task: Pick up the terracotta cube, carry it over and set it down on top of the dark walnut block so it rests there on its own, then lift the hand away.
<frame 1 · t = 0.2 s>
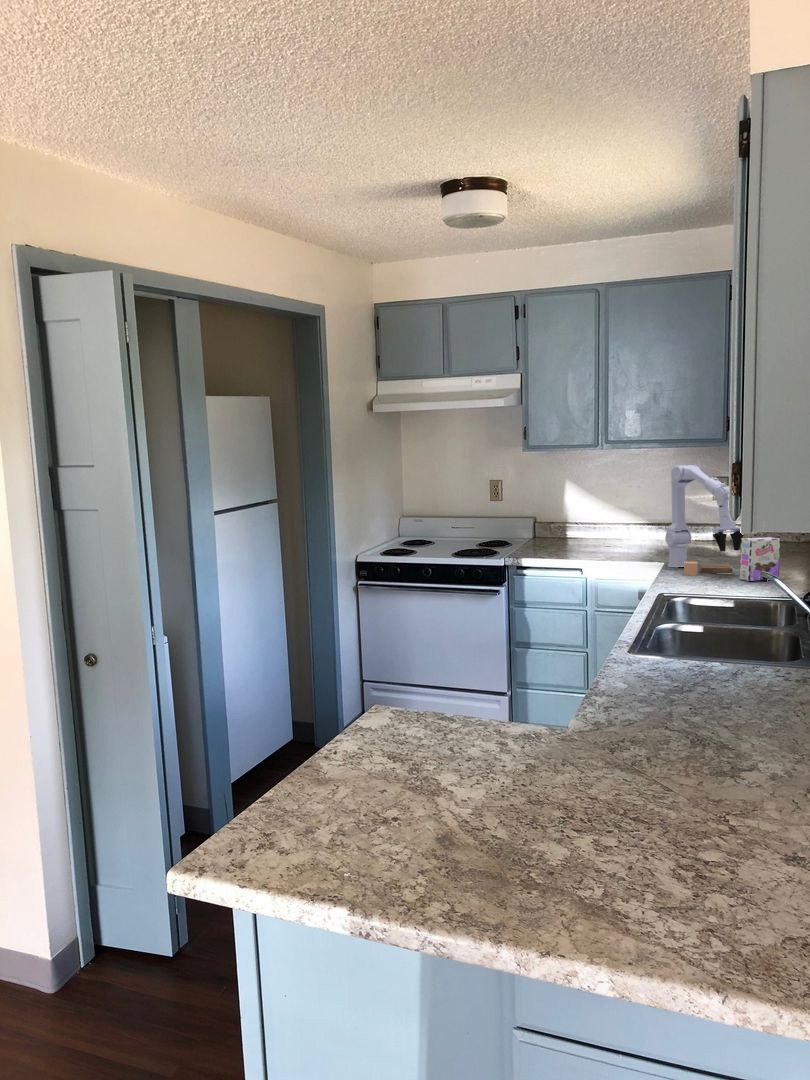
hand: (729, 550, 331), 10 cm above the worktop, tool pointing down, fingers open, 7 cm apart
walnut block: (715, 573, 345), on the worktop
terracotta cube: (690, 574, 340), on the worktop
candy box: (759, 580, 323), on the worktop
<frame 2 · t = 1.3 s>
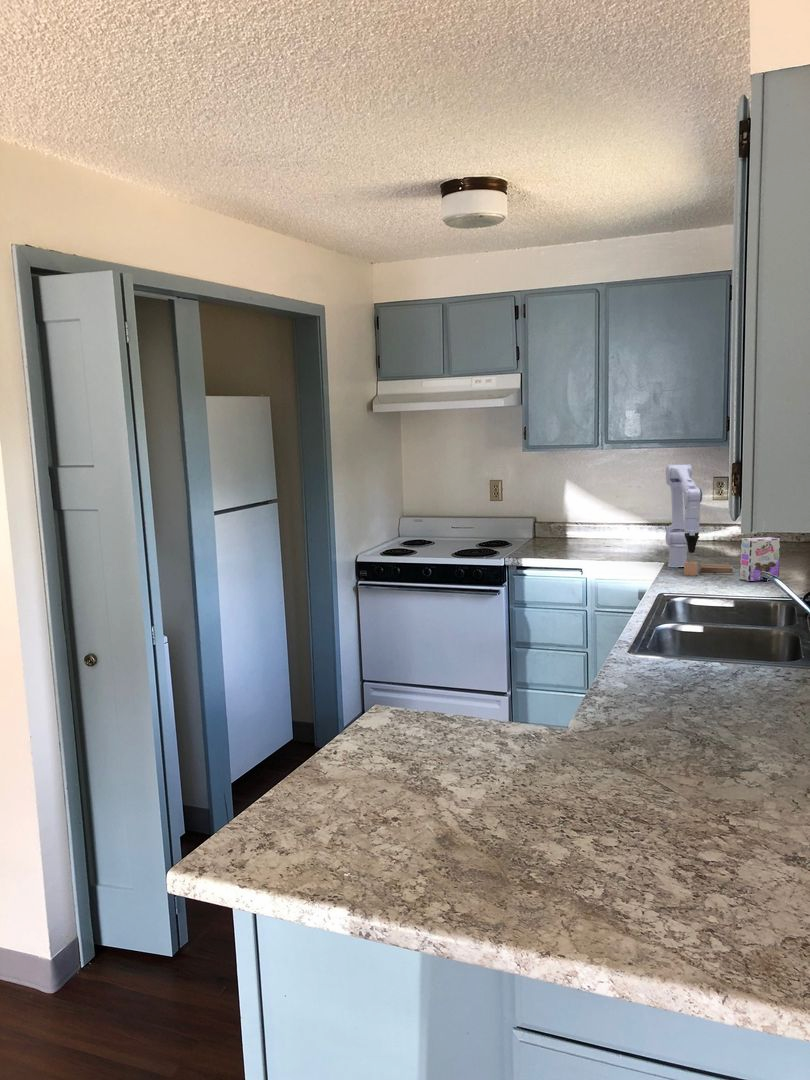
hand: (691, 551, 339), 9 cm above the worktop, tool pointing down, fingers open, 7 cm apart
nothing on the worktop moved.
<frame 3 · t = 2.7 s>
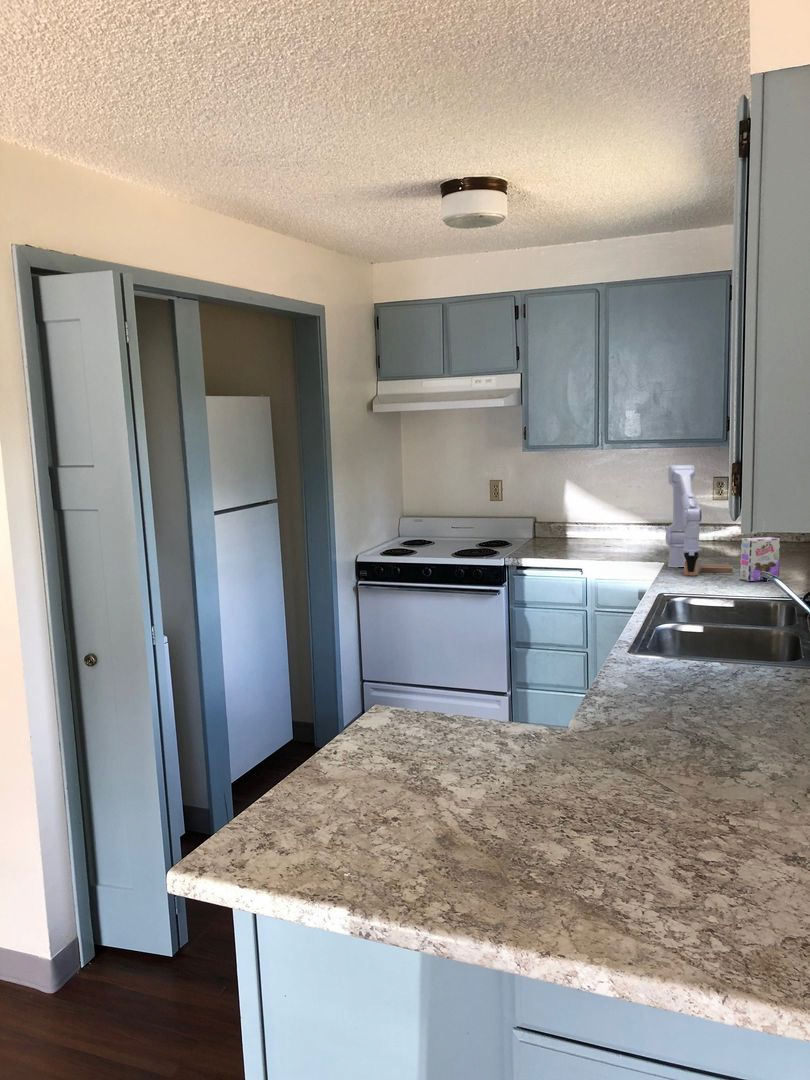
hand: (690, 570, 339), 1 cm above the worktop, tool pointing down, fingers closed on terracotta cube, 5 cm apart
terracotta cube: (690, 574, 340), on the worktop, touching gripper
everything else where it was.
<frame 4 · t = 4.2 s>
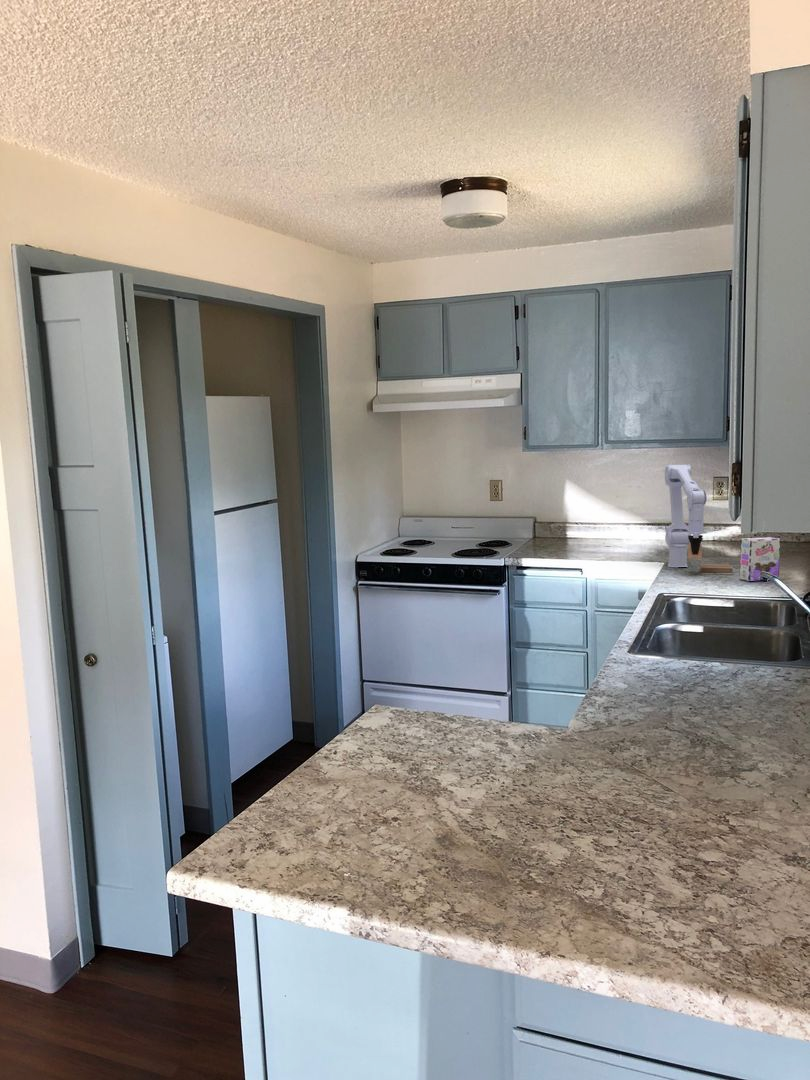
hand: (695, 553, 340), 8 cm above the worktop, tool pointing down, fingers closed on terracotta cube, 5 cm apart
terracotta cube: (694, 557, 340), point 7 cm above the worktop, touching gripper
everything else where it was.
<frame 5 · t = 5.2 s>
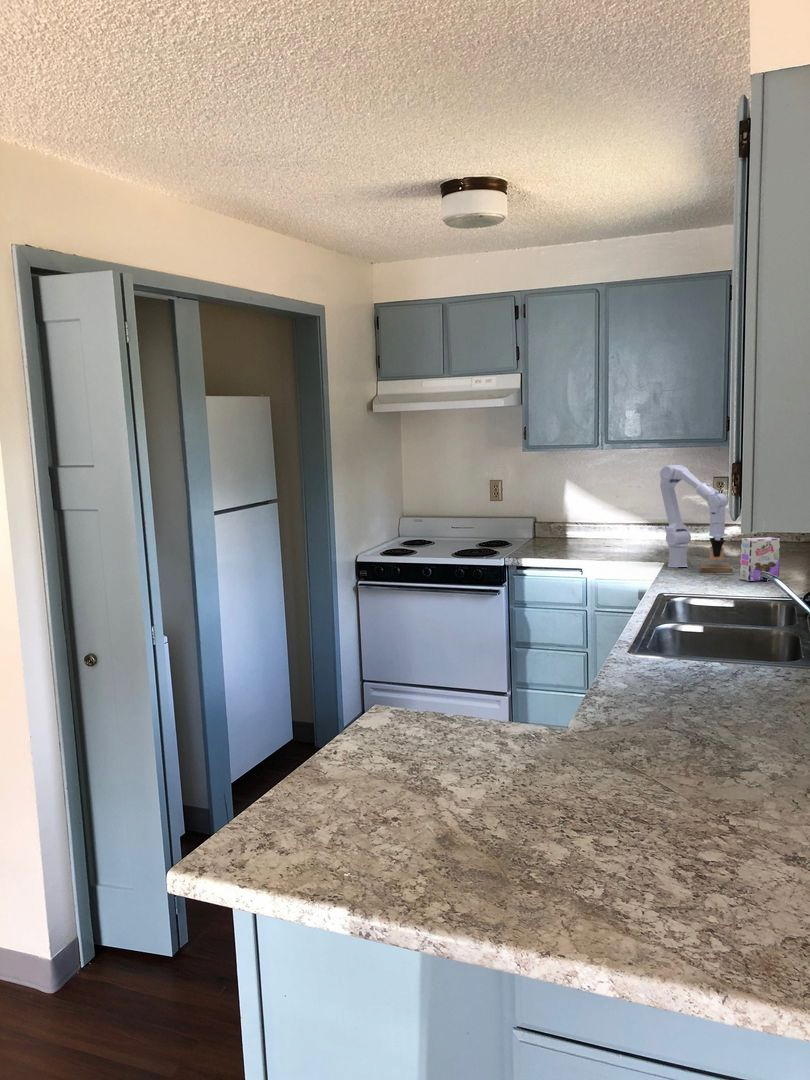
hand: (716, 555, 344), 7 cm above the worktop, tool pointing down, fingers closed on terracotta cube, 5 cm apart
terracotta cube: (716, 559, 344), point 5 cm above the worktop, touching gripper
everything else where it was.
when the fingers open (5 cm above the worktop, at t = 5.9 s): terracotta cube drops 2 cm, resting on walnut block.
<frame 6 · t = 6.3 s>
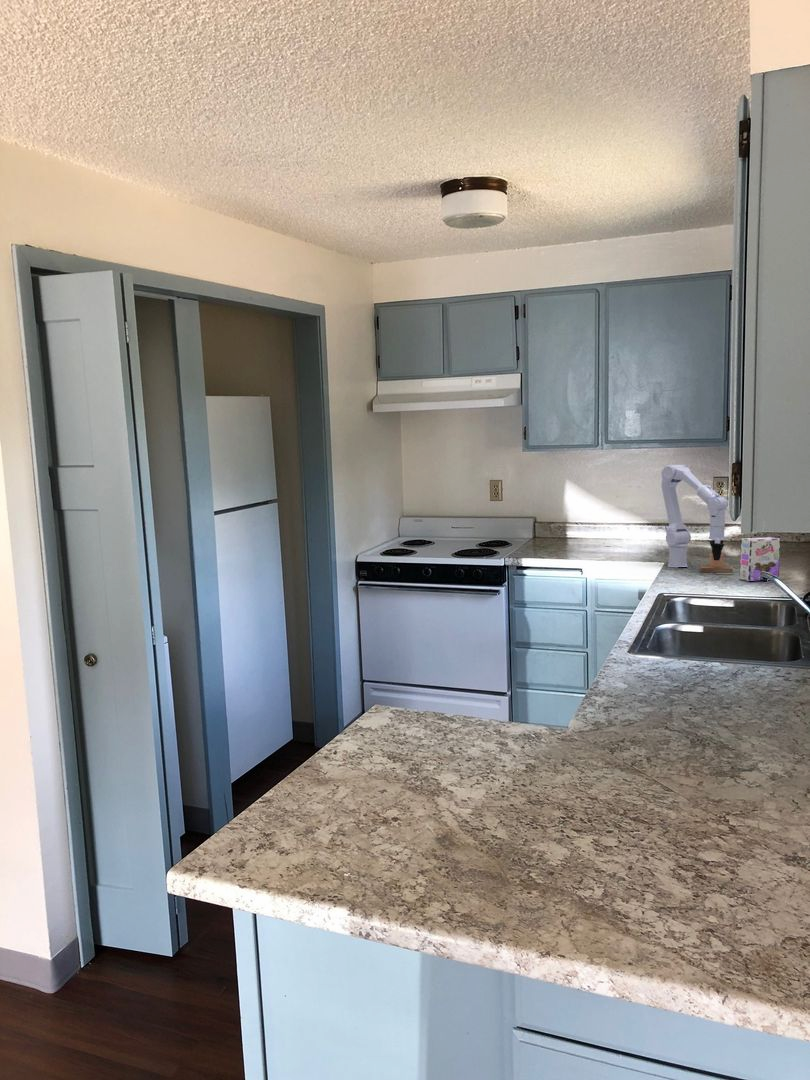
hand: (716, 559, 344), 5 cm above the worktop, tool pointing down, fingers open, 7 cm apart
walnut block: (715, 573, 345), on the worktop, touching terracotta cube
terracotta cube: (716, 566, 345), point 2 cm above the worktop, touching walnut block
everything else where it was.
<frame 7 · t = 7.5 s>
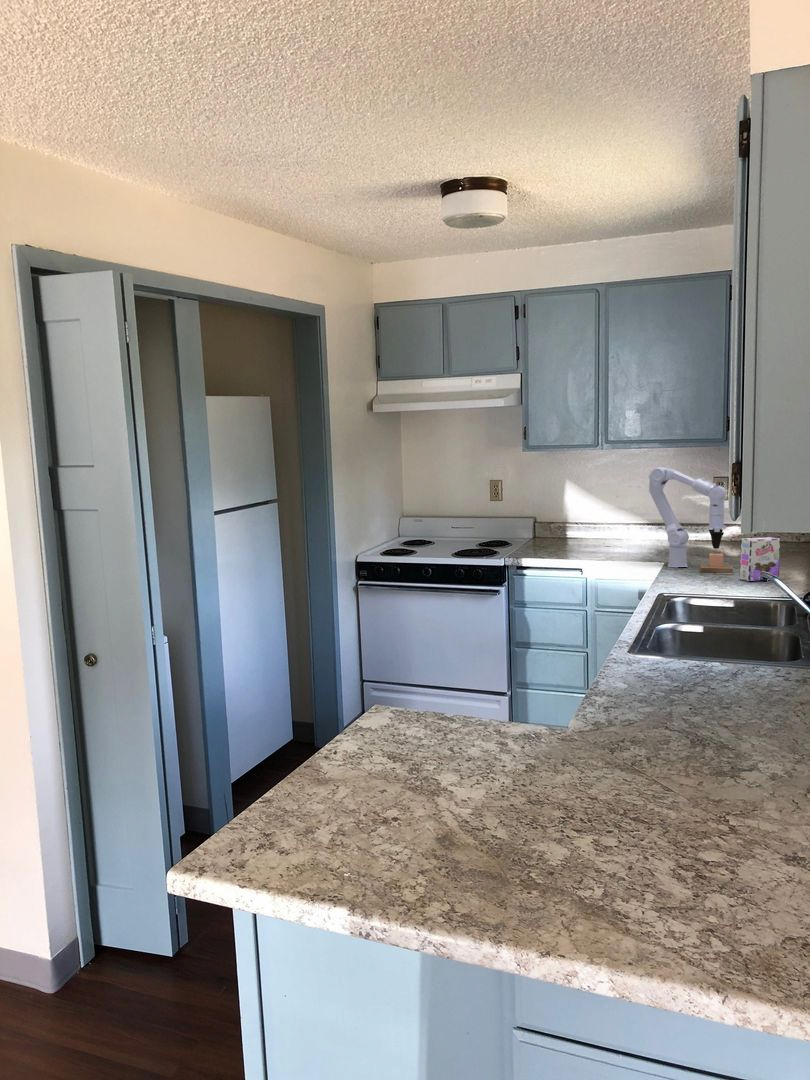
hand: (715, 547, 351), 9 cm above the worktop, tool pointing down, fingers open, 7 cm apart
nothing on the worktop moved.
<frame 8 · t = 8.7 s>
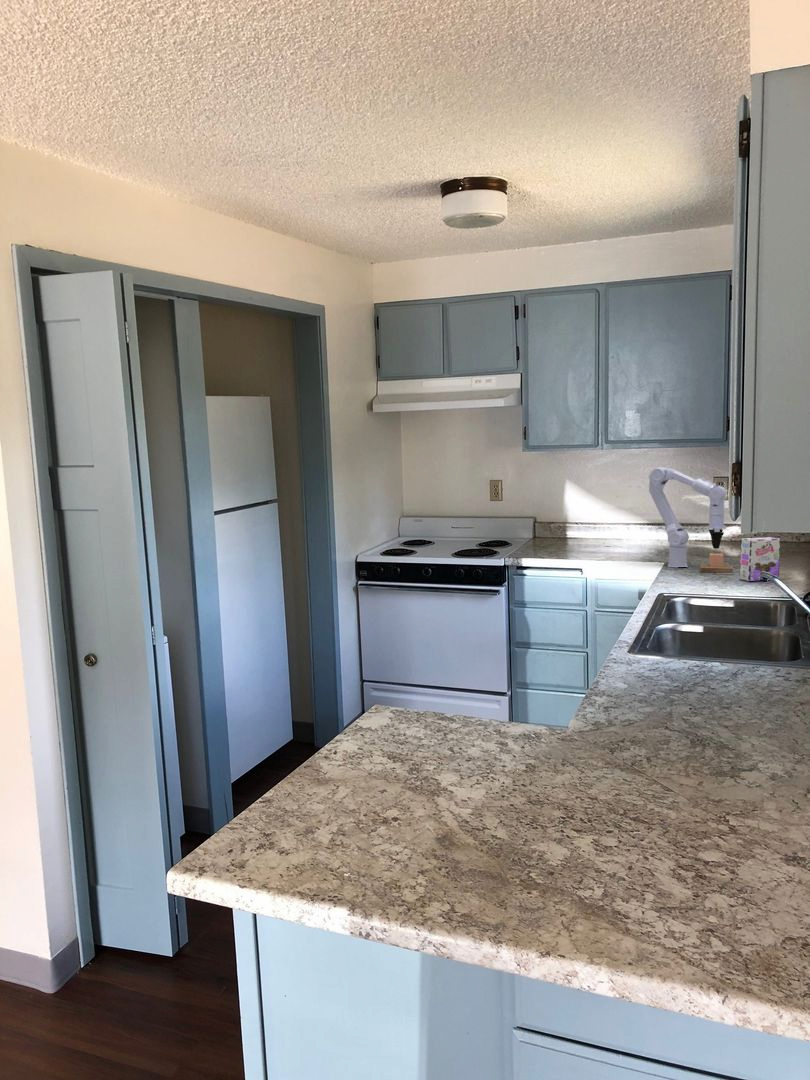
hand: (715, 547, 351), 9 cm above the worktop, tool pointing down, fingers open, 7 cm apart
walnut block: (715, 573, 345), on the worktop
terracotta cube: (716, 566, 345), point 2 cm above the worktop
everything else where it was.
at the end: terracotta cube inside the target area on the walnut block (0.2 cm from its centre), point 3.0 cm above the walnut block's base; terracotta cube tilted 0°; the gripper is holding nothing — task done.
